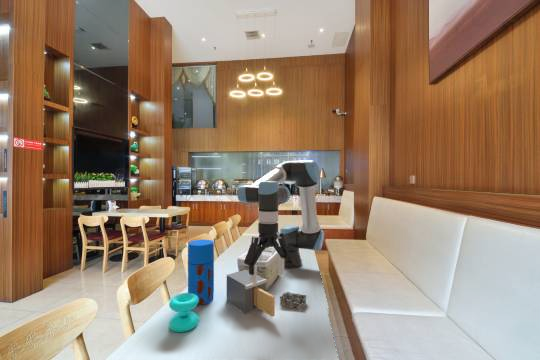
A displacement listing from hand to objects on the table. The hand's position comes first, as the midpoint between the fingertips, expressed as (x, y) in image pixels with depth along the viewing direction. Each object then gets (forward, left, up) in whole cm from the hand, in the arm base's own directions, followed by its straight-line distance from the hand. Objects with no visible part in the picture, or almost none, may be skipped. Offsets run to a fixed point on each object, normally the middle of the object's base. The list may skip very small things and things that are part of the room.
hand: (267, 278), depth 95 cm
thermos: (+13, -30, -15) cm, 36 cm away
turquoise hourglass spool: (+26, -16, -15) cm, 34 cm away
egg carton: (-15, -2, -16) cm, 22 cm away
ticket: (0, -8, -13) cm, 15 cm away
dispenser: (0, -15, -15) cm, 21 cm away
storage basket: (-20, -30, -16) cm, 39 cm away
